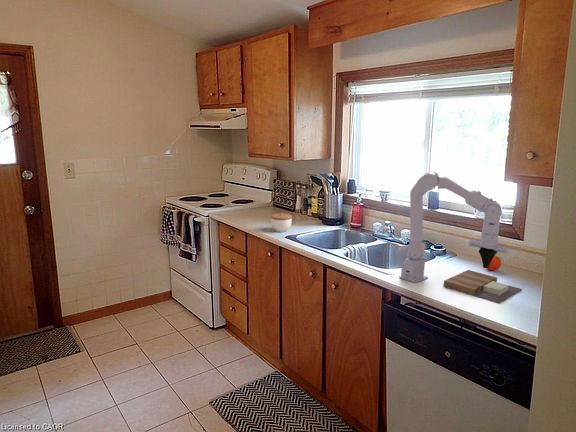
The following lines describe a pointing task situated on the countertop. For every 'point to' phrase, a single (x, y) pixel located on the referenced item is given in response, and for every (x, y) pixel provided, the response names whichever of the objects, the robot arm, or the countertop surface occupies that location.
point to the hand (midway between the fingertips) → (486, 267)
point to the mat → (495, 297)
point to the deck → (469, 282)
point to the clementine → (495, 263)
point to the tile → (496, 288)
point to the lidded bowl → (281, 222)
